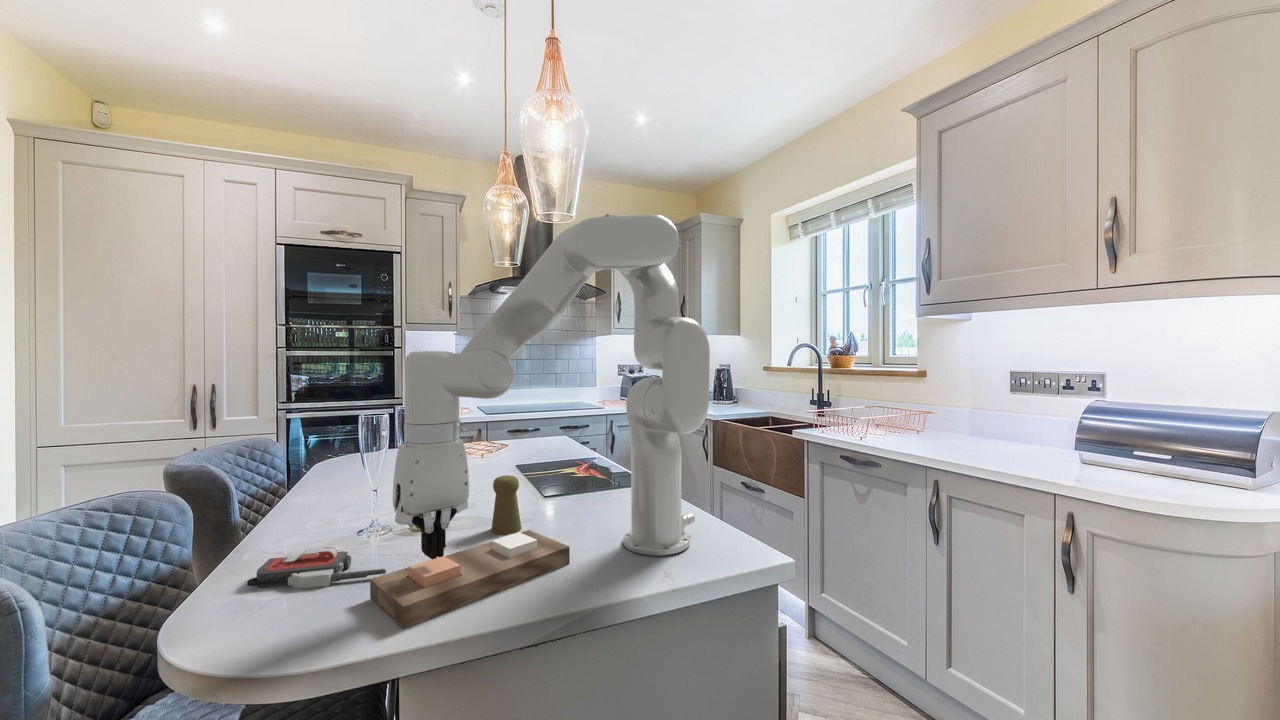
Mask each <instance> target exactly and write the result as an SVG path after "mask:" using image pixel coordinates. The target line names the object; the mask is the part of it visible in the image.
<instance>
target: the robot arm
mask: <svg viewBox="0 0 1280 720" xmlns="http://www.w3.org/2000/svg"><path fill="white" fill-rule="evenodd" d="M679 248H680V236H679V232H678V229H677V227H676V226H675V225H674V223H672V221H671V220H670V219H668V218H666V217H664V216H663V215H658V214H652V213H651V214H633V215H632V214H631V215H617V216H616V215H615V216H612V215H611V216H596V217H595V216H594V217H590V218H586V219H583V220H580V221H578V222H577V223H575V224H573V225H571V226H569V227H568V228H566V229H564V230H563V231H561V233H559V234H558V235H557V236H556V238H555V239H554V240H553V241H552V242H551V243H550V245H549V246H548V247H547V249H546V250H545V251H544V252H543V254H541V256H540V257H539V259H538V260H537V261H536V263H534V265H533V266H532V267H531V269H530V270H529V271H528V273H526V275H525V276H524V277H523V279H522V280H521V281H520V282H519V284H518V285H517V286H516V287H515V289H513V291H512V292H511V293H510V294H509V295H508V296H507V297H506V298H505V299H504V301H503V302H502V303H501V305H499V307H498V308H497V309H496V310H495V311H494V312H493V313H492V314H491V315H490V316H489V318H488V319H487V320H486V321H485V322H484V323H483V324H482V326H481V327H480V328H479V329H478V330H477V331H476V332H475V334H474V335H473V337H472V338H471V339H470V340H469V341H468V342H467V344H466V345H465V346H464V347H463V349H462V350H461V352H456V353H454V352H451V351H442V350H441V351H440V350H437V351H436V350H434V351H433V350H431V351H429V350H428V351H427V350H426V351H425V350H423V351H421V350H420V351H412V352H410V353H408V354H407V356H406V357H405V361H404V428H405V429H404V439H405V440H404V441H405V442H404V443H401V444H399V445H398V449H397V454H396V459H395V464H394V473H393V483H392V485H393V486H392V506H393V507H392V508H393V509H394V510H396V511H395V512H396V513H395V518H394V521H395V523H396V524H398V525H401V526H402V525H406V526H408V525H410V526H412V525H413V526H415V527H416V528H418V530H421V531H420V532H421V534H420V535H421V536H420V537H421V538H420V539H421V541H420V543H421V544H420V545H421V546H420V547H421V551H422V553H423V554H424V556H426V557H427V558H429V559H430V560H431V559H436V558H438V557H442V556H445V553H444V549H445V548H446V545H447V544H446V539H447V537H446V535H447V534H446V530H447V529H448V528H449V526H450V523H451V521H452V520H453V518H454V517H455V516H456V514H459V513H462V512H463V511H465V510H467V509H468V508H469V502H468V500H469V497H470V473H469V463H468V457H467V451H466V447H465V442H464V440H463V439H460V438H461V433H462V432H466V431H467V429H468V424H467V423H466V422H461V420H460V398H472V399H483V400H486V399H487V400H491V399H495V398H499V397H501V396H503V395H504V394H506V393H507V392H508V391H509V390H510V389H511V388H512V386H513V384H514V382H515V377H516V373H515V367H514V364H513V363H512V361H511V360H512V359H513V357H514V356H515V355H516V354H517V352H518V351H519V350H520V349H521V348H522V347H523V346H524V345H526V343H528V342H529V341H530V340H531V339H532V338H535V337H536V336H537V335H539V334H541V333H542V332H544V331H546V330H547V329H549V328H550V327H551V326H552V325H554V324H555V323H557V321H558V320H559V319H560V318H561V316H562V315H563V314H564V312H565V311H566V309H567V308H568V307H569V305H570V304H571V303H572V301H573V300H574V299H575V297H576V296H577V295H578V293H579V292H580V290H581V289H582V288H583V287H584V285H586V283H587V281H588V280H589V279H590V277H591V276H592V275H593V274H594V273H599V272H600V271H604V270H617V271H618V272H619V273H620V274H621V275H622V276H623V277H624V278H625V280H626V281H627V282H628V284H629V285H630V289H631V291H632V293H633V304H634V306H633V307H634V326H633V352H634V357H635V359H636V361H637V363H639V365H640V366H642V367H644V368H646V369H649V370H653V371H654V370H655V371H662V373H661V374H662V377H660V376H659V377H658V376H652V377H651V376H650V377H645V378H641V379H640V380H638V381H636V382H635V383H634V384H633V385H632V386H631V387H630V389H629V391H628V393H627V397H626V400H625V402H626V403H625V409H626V416H627V417H626V418H627V423H628V427H629V429H628V430H629V435H630V475H631V476H630V479H631V480H630V485H631V486H630V487H631V488H630V490H631V491H630V492H631V493H630V495H631V497H630V498H631V499H630V500H631V502H630V503H631V510H630V513H631V519H630V520H631V521H630V524H631V530H630V531H627V532H626V533H625V534H624V535H623V538H622V539H623V540H622V541H623V546H624V547H625V548H626V549H627V550H629V551H630V552H633V553H636V554H640V555H645V556H652V557H653V556H655V557H656V556H670V555H675V554H678V553H682V552H683V551H684V550H686V549H688V547H689V546H690V542H691V541H690V540H691V539H690V536H689V535H688V534H687V532H685V528H686V527H687V526H689V525H691V524H693V523H695V521H696V517H695V515H694V514H693V513H692V512H691V513H687V514H684V515H682V447H681V441H680V440H681V439H680V437H679V434H681V435H686V434H691V433H694V432H695V431H697V430H699V428H700V427H701V426H702V425H703V424H704V422H705V420H706V417H707V415H708V411H709V403H710V402H709V401H710V371H711V370H710V367H711V365H710V363H711V361H710V359H711V354H710V343H709V339H708V335H707V333H706V332H705V329H704V328H703V327H702V326H701V324H699V322H697V321H696V320H694V319H692V318H689V317H684V316H682V317H680V297H679V296H680V294H679V288H678V284H677V282H676V279H675V277H674V275H673V273H672V272H671V271H670V269H669V268H668V266H667V265H666V264H667V263H669V262H670V261H671V260H672V259H673V258H674V257H675V256H676V255H677V253H678V250H679ZM432 513H433V515H432Z"/></svg>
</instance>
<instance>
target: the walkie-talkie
mask: <svg viewBox="0 0 1280 720" xmlns="http://www.w3.org/2000/svg"><path fill="white" fill-rule="evenodd" d="M351 565H352V556H351V555H350V554H349V555H348V551H344V550H343V551H338V550H337V548H336V547H334V546H328V547H322V548H321V547H317V548H308V549H306V550H305V551H303V552H302V553H300V554H299V555H293V556H292V552H287V554H286V555H284V556H283V557H272V558H271V557H270V558H269V559H268V560H266V561H265V562H264V563H263V564H262V565H260V567H259V568H258V569H257V571H256V577H254V578H250V579H248V580H247V581H246V583H247V584H246V586H248V587H257V588H258V589H265V588H274V587H275V588H276V587H282V585H283V587H285V586H291V587H292V588H296V587H297V588H296V589H300V588H301V589H300V590H303V588H305V589H312V588H313V589H315V588H321V587H324V588H325V587H330V586H331V584H332V583H333V582H334V583H336V582H341V581H346V580H353V579H363V578H367V577H369V576H376V575H377V576H378V575H385V574H387V569H385V568H378V569H377V568H376V569H368V570H359V571H351V572H343V571H344V570H345V569H349V568H350V567H351ZM284 585H285V586H284Z"/></svg>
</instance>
